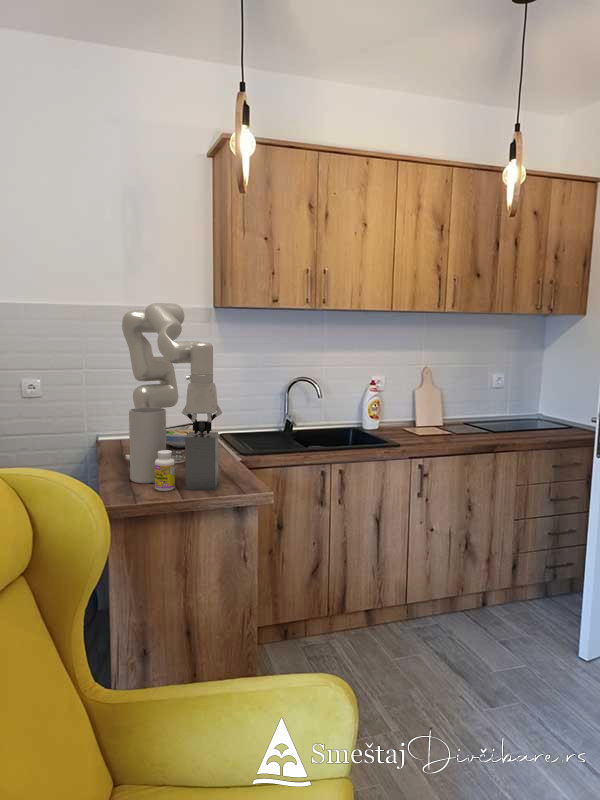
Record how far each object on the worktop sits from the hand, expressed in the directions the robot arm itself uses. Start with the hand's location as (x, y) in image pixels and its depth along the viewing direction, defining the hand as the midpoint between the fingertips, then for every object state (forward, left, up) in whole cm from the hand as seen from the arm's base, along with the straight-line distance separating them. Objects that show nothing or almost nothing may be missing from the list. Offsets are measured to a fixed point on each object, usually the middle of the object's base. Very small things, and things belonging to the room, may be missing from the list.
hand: (202, 432), depth 204 cm
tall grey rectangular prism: (0, +2, -19) cm, 19 cm away
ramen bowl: (-17, +65, -19) cm, 70 cm away
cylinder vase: (-20, +8, -19) cm, 29 cm away
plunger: (0, 0, -17) cm, 17 cm away
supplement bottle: (-12, -4, -19) cm, 23 cm away
